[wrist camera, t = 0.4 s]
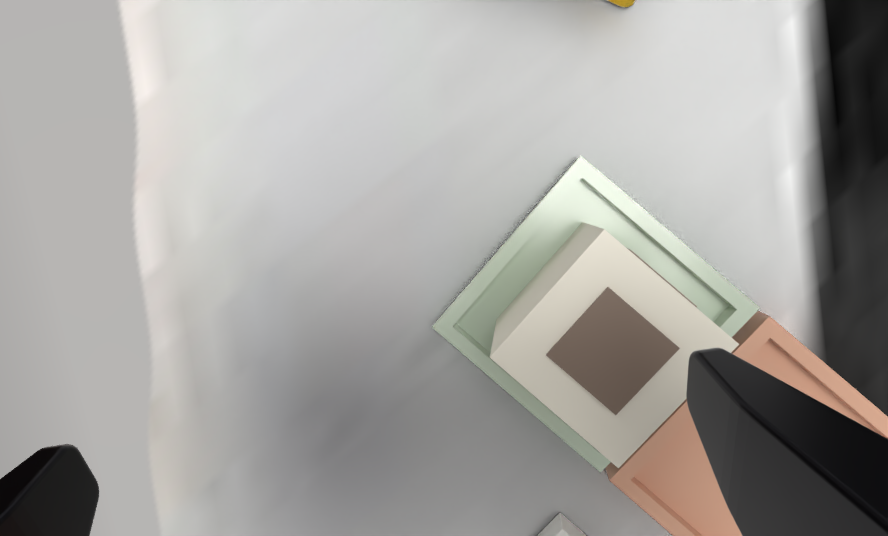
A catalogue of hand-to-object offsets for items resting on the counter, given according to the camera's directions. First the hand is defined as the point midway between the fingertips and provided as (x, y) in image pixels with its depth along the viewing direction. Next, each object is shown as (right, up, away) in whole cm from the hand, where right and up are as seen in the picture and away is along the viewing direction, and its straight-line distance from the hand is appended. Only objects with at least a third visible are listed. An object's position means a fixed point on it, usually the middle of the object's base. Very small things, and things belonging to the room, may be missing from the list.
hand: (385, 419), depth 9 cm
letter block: (+6, +1, +13) cm, 14 cm away
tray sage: (+6, +1, +13) cm, 14 cm away
